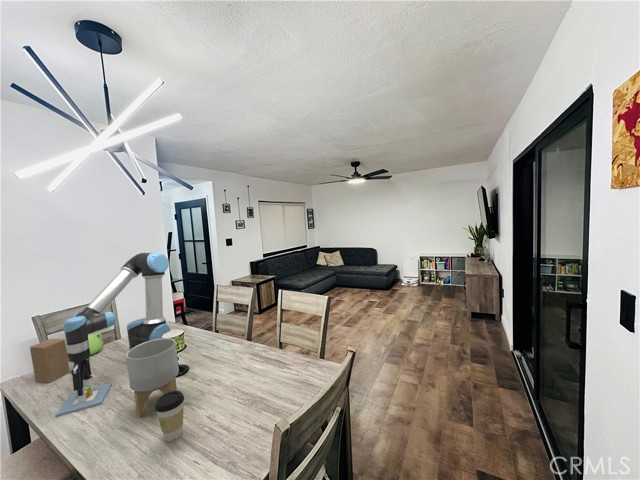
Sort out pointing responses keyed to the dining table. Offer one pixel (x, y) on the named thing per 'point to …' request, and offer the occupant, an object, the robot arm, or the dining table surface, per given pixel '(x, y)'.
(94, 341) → the teapot
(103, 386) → the plate
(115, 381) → the dining table surface
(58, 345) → the wooden block
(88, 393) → the rubik's cube
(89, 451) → the dining table surface
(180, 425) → the coffee cup
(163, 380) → the planter
